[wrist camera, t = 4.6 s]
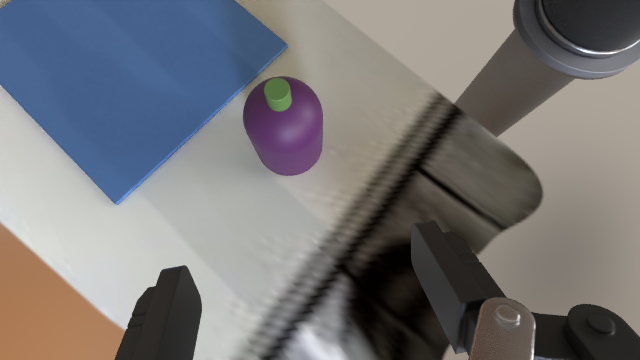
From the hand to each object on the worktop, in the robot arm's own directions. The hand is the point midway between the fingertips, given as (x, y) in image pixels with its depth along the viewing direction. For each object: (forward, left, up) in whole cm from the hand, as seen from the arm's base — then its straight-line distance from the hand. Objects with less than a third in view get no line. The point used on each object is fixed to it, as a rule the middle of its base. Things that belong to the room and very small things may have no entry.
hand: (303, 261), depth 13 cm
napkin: (+12, -20, -13) cm, 27 cm away
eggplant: (0, -9, -13) cm, 16 cm away
